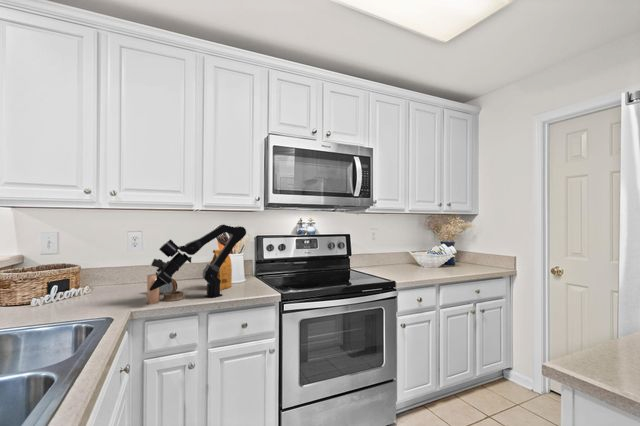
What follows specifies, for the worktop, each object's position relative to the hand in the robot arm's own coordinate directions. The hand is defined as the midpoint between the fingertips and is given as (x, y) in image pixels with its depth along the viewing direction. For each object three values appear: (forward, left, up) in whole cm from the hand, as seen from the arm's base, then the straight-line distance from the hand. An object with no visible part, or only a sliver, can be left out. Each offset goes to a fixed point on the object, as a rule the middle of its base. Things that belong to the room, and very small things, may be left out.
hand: (149, 289), depth 155 cm
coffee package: (0, -40, -7) cm, 40 cm away
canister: (-1, -1, -7) cm, 7 cm away
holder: (-2, -11, -7) cm, 13 cm away
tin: (+14, -15, -7) cm, 22 cm away
